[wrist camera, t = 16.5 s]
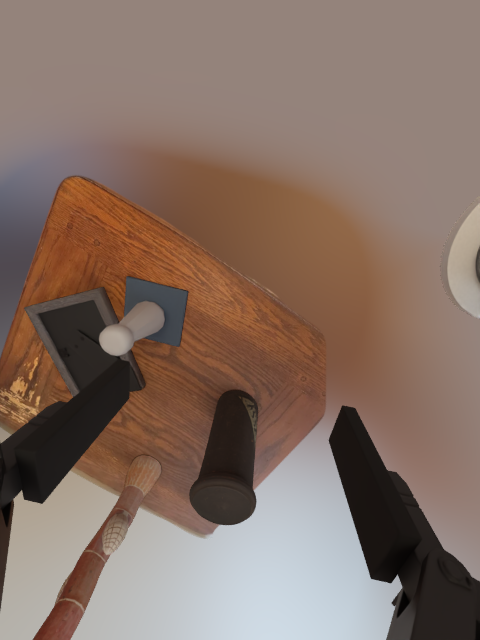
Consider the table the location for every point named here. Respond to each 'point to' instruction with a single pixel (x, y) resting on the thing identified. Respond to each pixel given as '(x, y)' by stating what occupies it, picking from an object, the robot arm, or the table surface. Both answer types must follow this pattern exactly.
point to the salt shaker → (132, 328)
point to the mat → (166, 299)
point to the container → (228, 462)
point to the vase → (99, 552)
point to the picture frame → (80, 337)
